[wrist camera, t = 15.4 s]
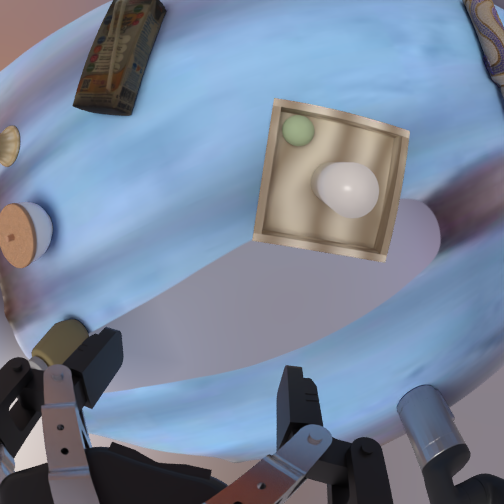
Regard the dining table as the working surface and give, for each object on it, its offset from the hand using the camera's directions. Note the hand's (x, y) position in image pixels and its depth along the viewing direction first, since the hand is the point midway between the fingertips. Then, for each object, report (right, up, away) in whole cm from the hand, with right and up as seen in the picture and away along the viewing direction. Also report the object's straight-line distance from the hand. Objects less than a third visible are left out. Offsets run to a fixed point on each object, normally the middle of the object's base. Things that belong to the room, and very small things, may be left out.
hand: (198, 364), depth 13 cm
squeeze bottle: (-31, -10, +34) cm, 48 cm away
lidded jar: (-35, +10, +29) cm, 47 cm away
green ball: (+8, +21, +22) cm, 31 cm away
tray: (+13, +15, +24) cm, 31 cm away
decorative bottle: (+44, +41, +15) cm, 62 cm away
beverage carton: (-16, +35, +21) cm, 44 cm away
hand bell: (-45, +26, +25) cm, 58 cm away
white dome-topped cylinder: (+13, +14, +24) cm, 30 cm away
